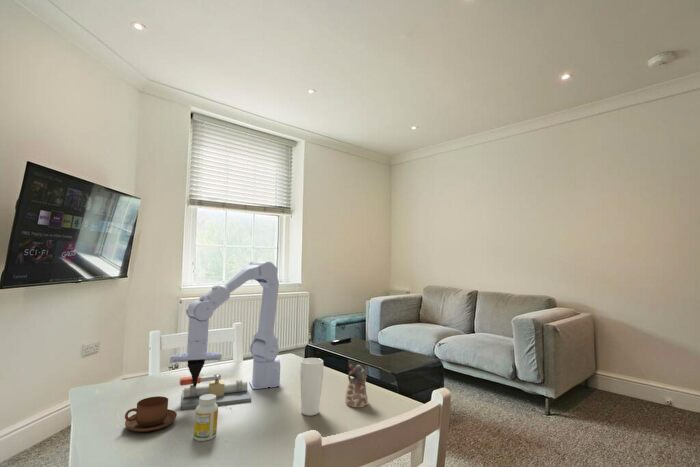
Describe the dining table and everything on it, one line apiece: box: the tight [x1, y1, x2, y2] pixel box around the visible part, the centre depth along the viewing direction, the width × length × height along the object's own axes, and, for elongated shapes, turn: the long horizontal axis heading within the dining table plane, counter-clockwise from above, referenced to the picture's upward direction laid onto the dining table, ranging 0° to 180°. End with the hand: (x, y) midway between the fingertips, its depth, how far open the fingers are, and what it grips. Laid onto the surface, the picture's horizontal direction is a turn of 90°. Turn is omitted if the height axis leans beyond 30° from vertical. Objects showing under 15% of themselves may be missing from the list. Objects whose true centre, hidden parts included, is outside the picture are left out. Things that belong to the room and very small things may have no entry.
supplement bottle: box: [193, 394, 219, 442], centre depth 90 cm, size 5×5×10 cm
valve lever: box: [178, 373, 222, 387], centre depth 113 cm, size 12×2×2 cm, turn 120°
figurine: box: [345, 364, 369, 408], centre depth 114 cm, size 7×7×12 cm
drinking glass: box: [299, 357, 324, 417], centre depth 106 cm, size 7×7×15 cm
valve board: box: [180, 379, 252, 411], centre depth 115 cm, size 20×14×5 cm
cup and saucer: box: [124, 396, 178, 433], centre depth 95 cm, size 12×12×6 cm
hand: (194, 385), depth 110 cm, fingers closed, pressing on valve lever
